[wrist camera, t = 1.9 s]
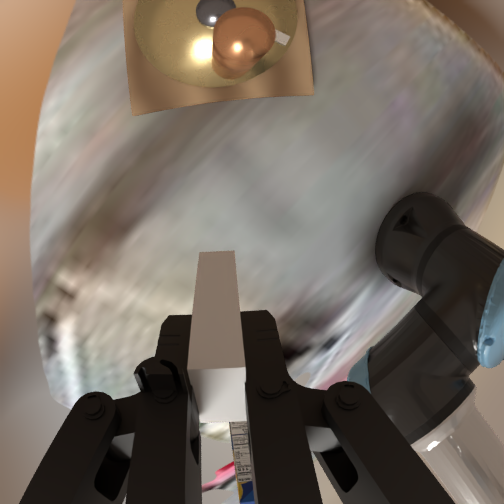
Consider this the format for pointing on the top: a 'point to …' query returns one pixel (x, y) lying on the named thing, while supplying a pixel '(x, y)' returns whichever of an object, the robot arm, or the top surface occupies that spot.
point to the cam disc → (214, 38)
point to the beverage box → (242, 461)
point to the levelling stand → (180, 95)
